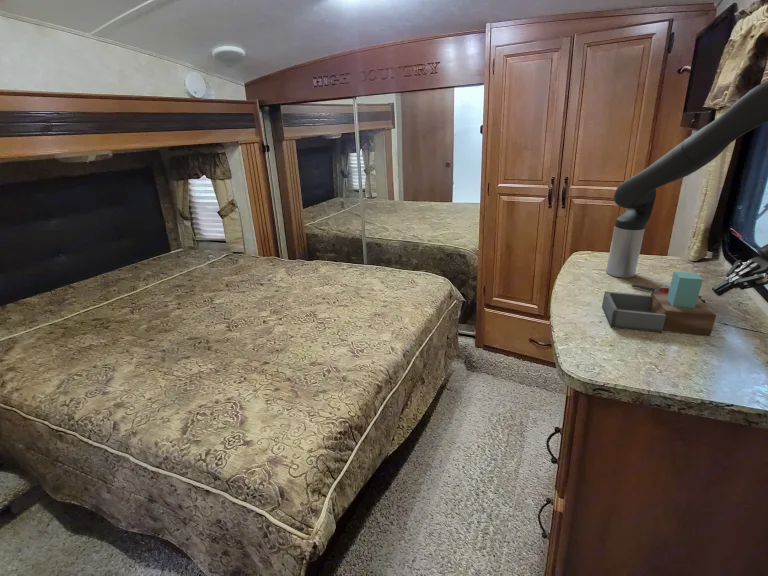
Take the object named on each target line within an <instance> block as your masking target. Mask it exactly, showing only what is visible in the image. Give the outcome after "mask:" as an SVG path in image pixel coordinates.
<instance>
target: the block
mask: <svg viewBox="0 0 768 576" xmlns="http://www.w3.org/2000/svg"><path fill="white" fill-rule="evenodd" d="M703 281H704V279H703V278H702V277H701V276H700V275H699V274H697V273H696V272H687V271H686V272H685V271H673V273H672V277H671V281H670V285H669V287H670V288H669V292H668V296H667V300H668V301H669V302H670V304H671V305H672V306H675V307H686V308H695V306H696V302H697V299H698V296H700V291H701V289H702V284H703Z"/></svg>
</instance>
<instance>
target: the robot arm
mask: <svg viewBox="0 0 768 576" xmlns="http://www.w3.org/2000/svg"><path fill="white" fill-rule="evenodd" d="M767 123H768V81H765V82H762V83H760V84H758V85H756V86H754V87H753V88H751V89H750V90H749V91H748V92H747V93H745V94H744V95H743V96H742V97H740V98H739V100H737V101H736V102H735V103H733V104H732V105H731V107H729V108H728V109H727V110H725V112H723V113H722V114H721V115H719V116H718V117H717V118H716V119H714V120H713V121H711V122H710V123H708V124H706V125H705V126H703V127H701V128H700V129H699V130H697V131H696V132H694V133H693V134H691V135H690V136H688V137H687V138H685V139H684V140H682V141H681V142H679V143H678V144H677V145H675V147H672V149H670V150H669V151H667V152H666V153H665V154H663V155H661V156H660V158H658V159H657V160H655V161H654V162H652V164H650V165H649V166H648V167H646V168H645V169H643V170H642V171H640V172H638V173H636V174H635V175H633V176H631V177H630V178H628V179H626V180H625V181H623V182H622V183H620V184H619V185H618V186H617V188H616V190H615V191H614V195H613V200H614V203H615V204H616V205H617V206H618V207H620V208H623V209H626V210H625V211H624V213H623V214H621V215H619V216H617V218H616V219H615V223H614V226H613V233H612V239H611V243H610V249H609V254H608V260H607V263H606V269H605V273H606V274H608V275H610V276H612V277H616V278H626V279H627V278H629V279H630V278H634V277H635V275H636V271H637V266H638V262H639V258H640V254H641V248H642V243H643V239H644V235H645V229H646V226H647V224H648V222H649V221H650V219H651V216H652V213H653V209H654V206H655V202H656V197H657V189H658V188H661V187H662V186H665V185H667V184H670V183H673V182H676V181H678V180H681V179H683V178H686V177H688V176H690V175H691V174H693V173H696V172H697V171H698V170H700V169H701V168H703V167H704V166H706V165H708V164H709V163H711V162H712V161H713V160H714V159H716V158H717V157H718V156H719V155H720V154H721V153H722V152H723V151H724V150H726V148H728V146H729V145H730V144H731V143H733V142H734V141H736V140H737V139H739V138H740V137H742V136H743V135H745V134H747V133H748V132H751V131H753V130H755V129H756V128H758V127H760V126H762V125H764V124H767ZM756 252H757V256H755V257H752V258H749V259H748V260H747V261H744V262H743V261H741V260H740V259H739V260H736V261H735V262H734V263H733V265H732V266H731V267H730V269H729V270H727V272H726V274H725V275H724V276H725V277H726V278H725V280H723V281H722V282H720V283H718V284H717V285H715V286H712V288H711V290H712V292H713V293H714V294H716V296H718V297H721V296H723V295H724V294H726V293H728V292H729V291H732V290H733V289H734V290H735V289H739V290H741V291H744V290H748V289H752V288H753V289H754V288H756V287H761V286H767V285H768V243H766V244H765V245H763V246H762V247H760V248H758V249H757V250H756Z"/></svg>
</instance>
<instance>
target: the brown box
mask: <svg viewBox="0 0 768 576" xmlns="http://www.w3.org/2000/svg"><path fill="white" fill-rule="evenodd" d="M667 296H668V295H665V294H654V293H653V295H652V299H651V303H650V307H649V311H650V313H659V314H665V315H666V318H665V322H664V326H663V330H662V333H663V332H665V333H672V334H673V333H674V334H682V335H691V336H702V337H711V335H712V331H713V327H714V324H715V321H716V318H717V314H715V312H714V311H713V310H712V309H711V308H710V307H709V306H708V305H707V304H706V302H705V303H704V302H703V301H702V300H701V299H702V298H701V299H700V298H699V297H698V299H697V302H696V306H695V308H686V307H675V306H672V305H671V304H670V302H669V301H668V300H667Z"/></svg>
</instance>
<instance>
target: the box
mask: <svg viewBox="0 0 768 576" xmlns="http://www.w3.org/2000/svg"><path fill="white" fill-rule="evenodd" d="M602 299H603V300H602V304H601V309H602V311H603V313H604V315H605V318H606V320H607V323H608V325H609V328H611V329H612V328H613V329H620V330H630V331H640V332H649V333H656V334H657V333H659V334H662V333H663V332H662V330H663V326H664V322H665V318H666V315H665V314H659V313H650V311H649V307H650V303H651V299H652V296H651V294H649V295H648V294H638V293H628V292H615V291H604V293H603V298H602Z"/></svg>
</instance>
